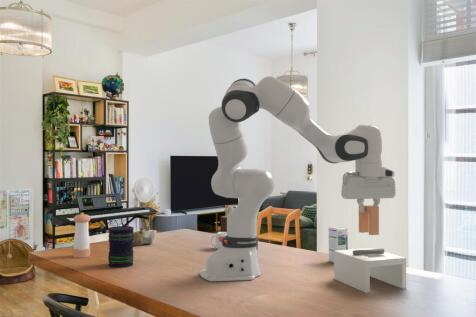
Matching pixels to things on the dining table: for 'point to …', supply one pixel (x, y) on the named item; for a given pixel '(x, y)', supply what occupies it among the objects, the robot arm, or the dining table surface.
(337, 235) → the syrup box
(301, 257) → the dining table surface
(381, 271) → the shelf
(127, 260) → the storage jar
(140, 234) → the ceramic sculpture
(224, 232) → the mug
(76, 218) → the salt shaker
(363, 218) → the notched wooden block
